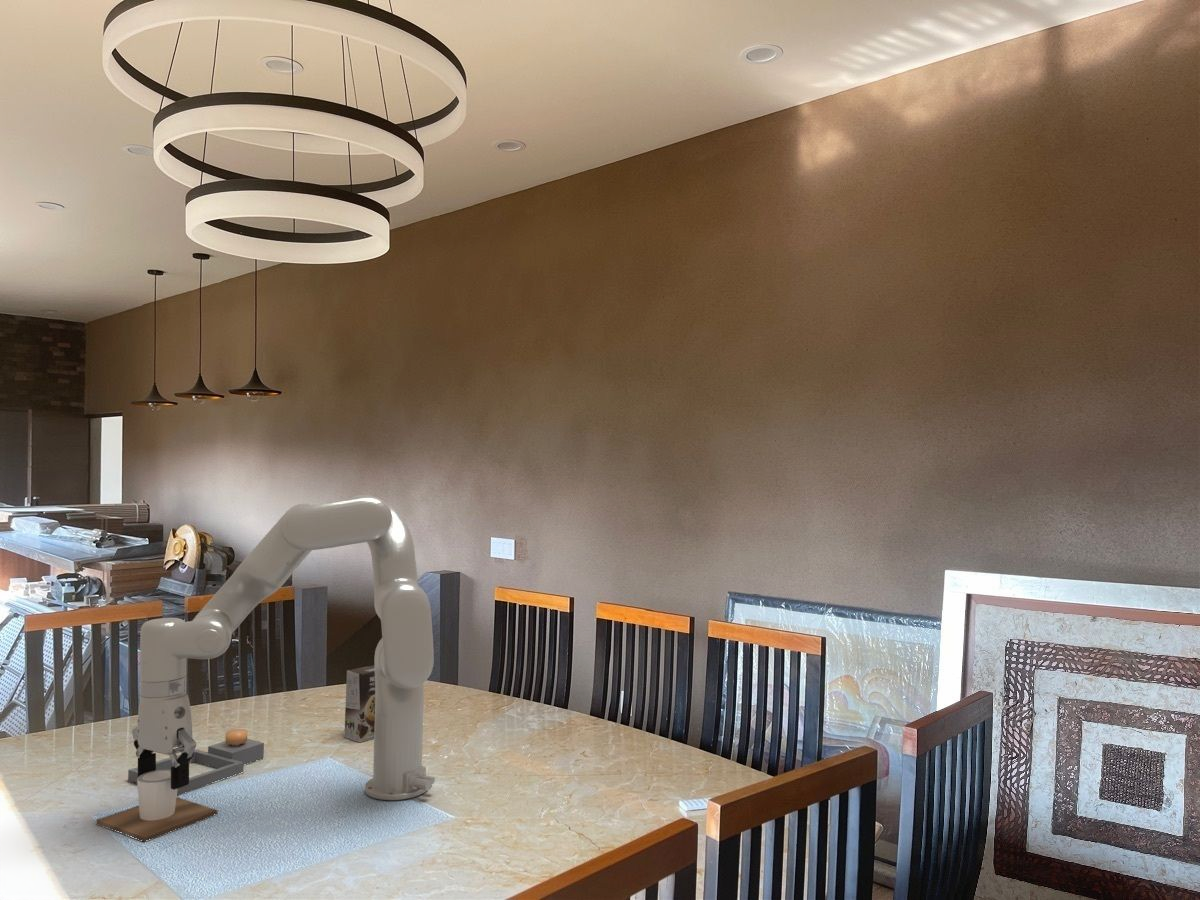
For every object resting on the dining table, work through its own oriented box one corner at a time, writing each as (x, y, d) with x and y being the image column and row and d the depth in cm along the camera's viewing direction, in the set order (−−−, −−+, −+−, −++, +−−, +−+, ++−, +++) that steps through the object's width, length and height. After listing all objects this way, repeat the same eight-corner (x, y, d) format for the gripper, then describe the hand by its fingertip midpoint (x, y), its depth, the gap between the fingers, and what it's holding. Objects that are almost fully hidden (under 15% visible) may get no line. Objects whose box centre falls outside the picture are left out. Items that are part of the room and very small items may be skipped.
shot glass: (166, 822, 151) (168, 782, 151) (128, 821, 151) (129, 781, 151) (185, 807, 158) (186, 769, 158) (148, 806, 158) (149, 768, 158)
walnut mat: (217, 814, 157) (217, 810, 157) (144, 842, 144) (144, 837, 144) (169, 798, 164) (170, 794, 164) (96, 824, 151) (96, 819, 151)
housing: (274, 762, 185) (275, 745, 185) (175, 796, 165) (175, 778, 165) (228, 749, 193) (229, 734, 193) (128, 780, 172) (128, 763, 173)
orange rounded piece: (251, 751, 186) (251, 731, 186) (233, 757, 183) (234, 736, 183) (238, 747, 189) (238, 727, 189) (220, 753, 185) (221, 733, 185)
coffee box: (360, 743, 199) (362, 674, 200) (343, 737, 203) (345, 669, 203) (391, 734, 206) (393, 667, 207) (374, 729, 210) (376, 663, 211)
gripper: (212, 688, 154) (212, 784, 153) (154, 677, 162) (153, 767, 162) (173, 698, 147) (173, 798, 147) (115, 686, 156) (114, 780, 155)
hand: (163, 782), depth 154 cm, fingers open, 9 cm apart
